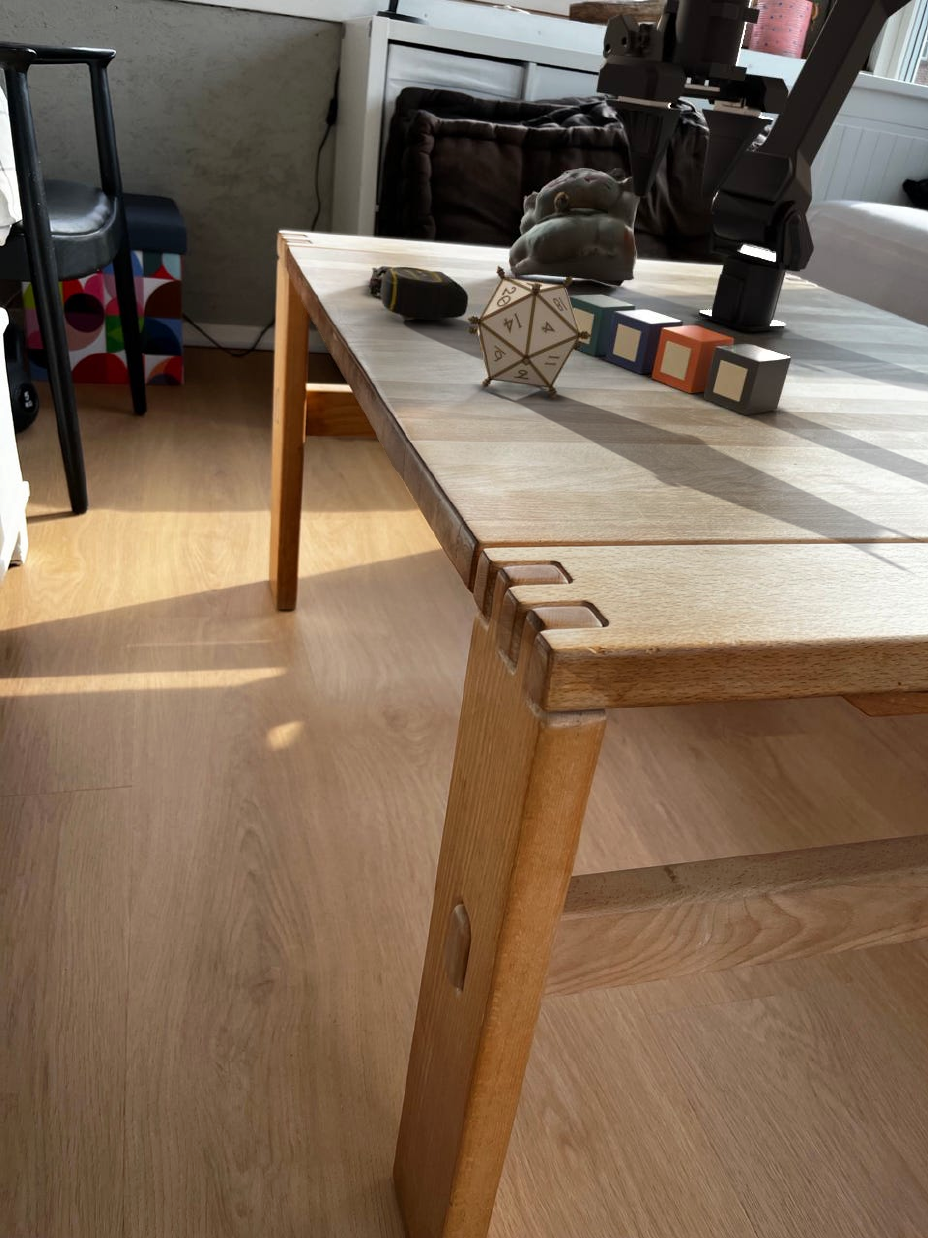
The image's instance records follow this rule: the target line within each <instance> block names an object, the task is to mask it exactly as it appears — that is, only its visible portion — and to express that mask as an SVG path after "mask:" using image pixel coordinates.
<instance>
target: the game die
mask: <svg viewBox="0 0 928 1238" xmlns="http://www.w3.org/2000/svg"><path fill="white" fill-rule="evenodd" d="M504 270H505V269H504V268H502V267H501V266H499V265H497V270H496V274H497V277H499V279H500V280H499V282H498V283H497V286H496V287H495V289H494V291H493V292H492V294H491V296H490V298H489V300H488V301H487V303H486V305H485V306H484V309H483V311H482V312H481V314H480V316H479V317H478V316H475V315H472V316H471V317H469V318H467V321H469V323H470V325H472V326H469V327H468V328H467V329H466V331H467V332H468V333H469V334H470V335H472V334H473V335H475V334H476V336H477V339H478V343H479V347H480V350H481V355H482V358H483V362H484V366H485V369H486V373H487V378H484V380H483V381H482V387H481V390H483V389H486V388H489V386H490V385H491V382H492V381H496V382H503V383H504V382H505V383H511V384H517V385H518V384H519V385H526V386H535V387H540V388H547V389H548V391H547V392H548V393H549V396H551V397H552V398H553V399H556V398H557V393H558V391H557V390H556V388H555V387H554V384H555V382H556V381H557V378H558V377H559V375H560V373H561V371H562V370H563V368H564V366H565V364H566V363H567V361H568V359H569V357H570V355H572V352H573V351H574V349H575V347H576V349H575V350H577V348H578V347H580V346H582V345H581V343H580V342H579V341H578V340H579V338H582V339H585V340H586V339H588V338H589V337H590V336H591V335H590V334H589V333H588V332H587V331H586V332H584V331H583V332H581V333H580V331H579V328H578V325H577V322H576V318H575V315H574V312H573V309H572V306H571V303H570V299H569V296H570V295H569V294H568V290H567V288H568V287H570V286H571V284H573V278H572V276H570V277H568V278H567V277H565V279H564V280H563V283H562V284H560V283H553V282H546V281H539V280H533V279H532V280H530V279H526V278H525V279H524V278H518V277H516V278H515V277H509V276H506V275H505V273H506V272H505V271H504ZM473 325H476V326H473Z"/></svg>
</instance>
